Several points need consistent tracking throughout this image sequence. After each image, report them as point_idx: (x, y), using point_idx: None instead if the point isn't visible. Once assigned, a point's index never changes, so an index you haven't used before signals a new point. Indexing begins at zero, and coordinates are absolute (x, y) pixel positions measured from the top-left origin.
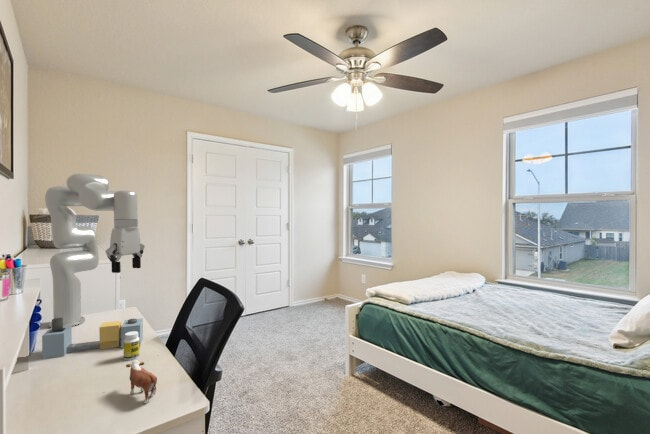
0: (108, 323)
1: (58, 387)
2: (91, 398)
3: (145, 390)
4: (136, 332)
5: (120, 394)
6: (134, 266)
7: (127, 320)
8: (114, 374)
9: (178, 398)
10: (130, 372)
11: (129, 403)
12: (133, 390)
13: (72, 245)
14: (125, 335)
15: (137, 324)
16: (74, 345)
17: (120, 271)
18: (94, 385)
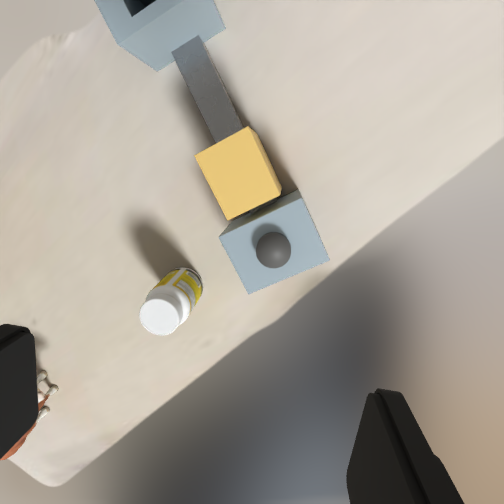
0: (241, 160)
1: (19, 214)
2: (10, 313)
3: None
4: (167, 329)
5: (36, 356)
6: (368, 432)
7: (297, 211)
8: (97, 298)
9: (54, 451)
10: None
11: None
12: (40, 381)
13: None
14: (142, 305)
15: (253, 281)
16: (192, 65)
17: (30, 425)
18: (48, 286)
